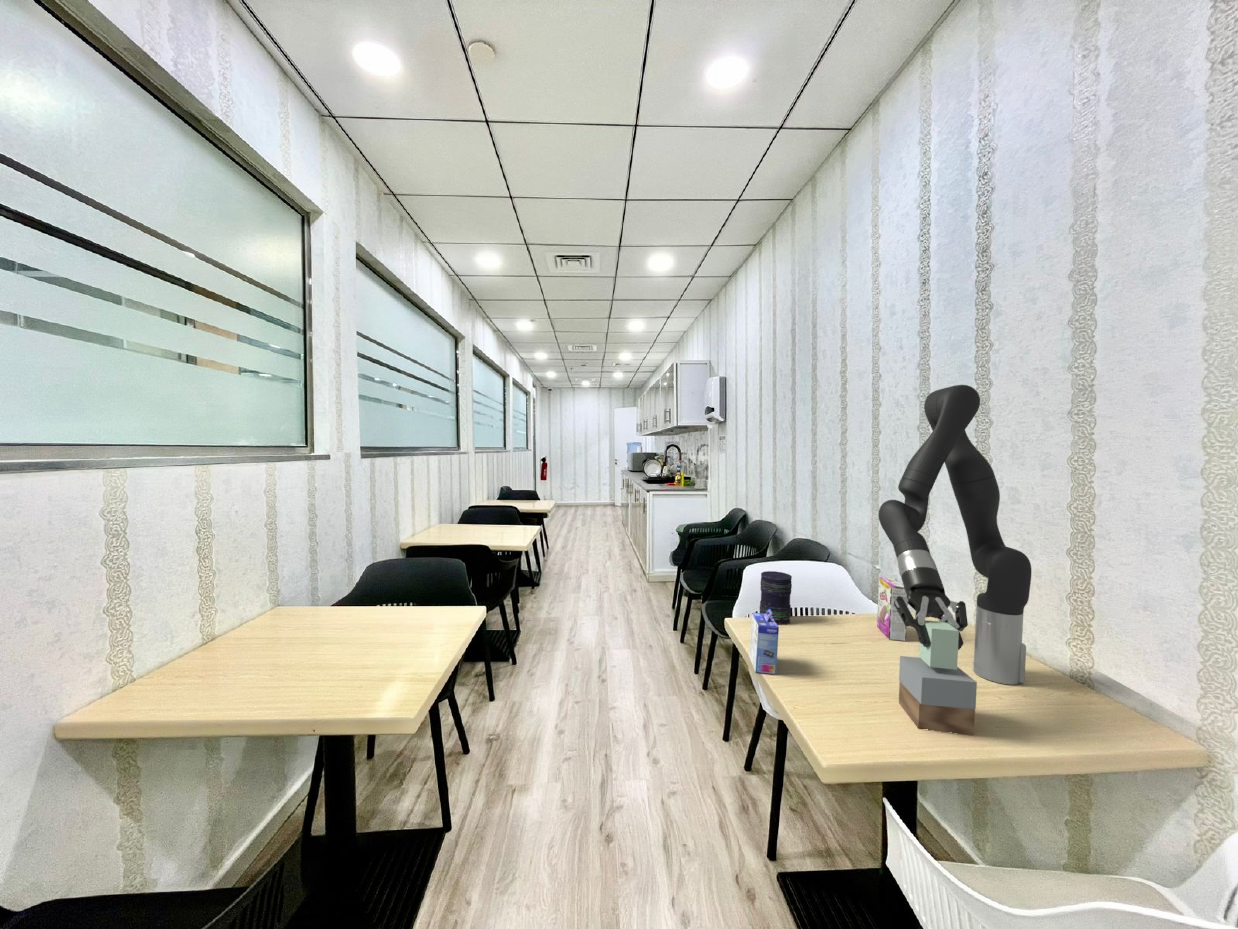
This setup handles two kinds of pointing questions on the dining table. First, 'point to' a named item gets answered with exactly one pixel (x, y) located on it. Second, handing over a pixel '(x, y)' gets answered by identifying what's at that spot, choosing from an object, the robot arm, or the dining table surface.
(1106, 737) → the dining table surface
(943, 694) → the tower top
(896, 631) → the candy bar box
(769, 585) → the storage jar
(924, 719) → the tower base
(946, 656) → the sage block
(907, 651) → the dining table surface
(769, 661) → the ink cartridge box
